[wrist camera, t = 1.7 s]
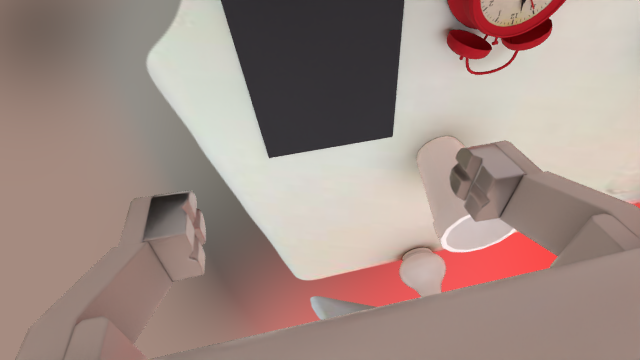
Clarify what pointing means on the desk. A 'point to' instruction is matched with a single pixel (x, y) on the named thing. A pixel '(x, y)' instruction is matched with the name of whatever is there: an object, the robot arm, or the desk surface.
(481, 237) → the foam cup
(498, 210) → the robot arm
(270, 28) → the desk mat
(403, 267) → the flower vase
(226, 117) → the desk surface
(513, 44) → the alarm clock
